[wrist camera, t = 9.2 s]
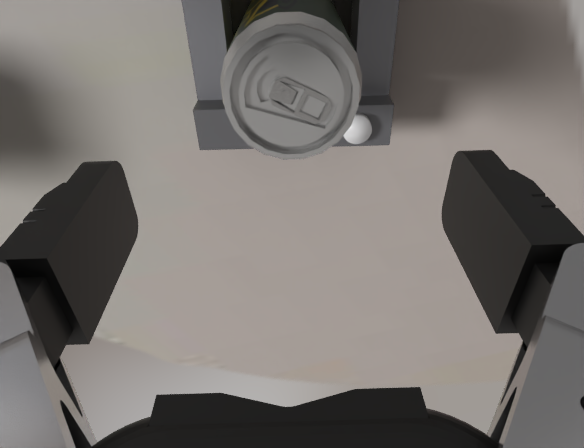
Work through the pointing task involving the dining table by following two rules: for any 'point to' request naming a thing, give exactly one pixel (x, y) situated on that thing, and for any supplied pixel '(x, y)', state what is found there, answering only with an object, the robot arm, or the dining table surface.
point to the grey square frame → (364, 37)
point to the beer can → (291, 78)
